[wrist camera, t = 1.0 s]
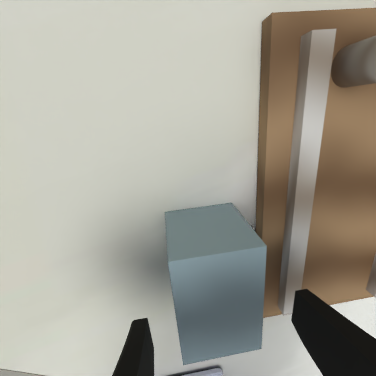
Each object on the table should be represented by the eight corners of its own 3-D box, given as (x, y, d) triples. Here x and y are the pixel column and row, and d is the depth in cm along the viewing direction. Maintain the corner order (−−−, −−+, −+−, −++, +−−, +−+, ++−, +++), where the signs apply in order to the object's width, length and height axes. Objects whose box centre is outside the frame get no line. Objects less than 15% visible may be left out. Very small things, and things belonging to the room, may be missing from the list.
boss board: (380, 284, 19) (454, 340, 14) (253, 307, 17) (287, 378, 13) (463, 11, 12) (664, -57, 7) (262, 22, 11) (343, -52, 6)
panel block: (232, 282, 16) (261, 348, 12) (176, 291, 16) (183, 365, 11) (230, 202, 14) (266, 246, 9) (164, 211, 14) (167, 262, 9)
